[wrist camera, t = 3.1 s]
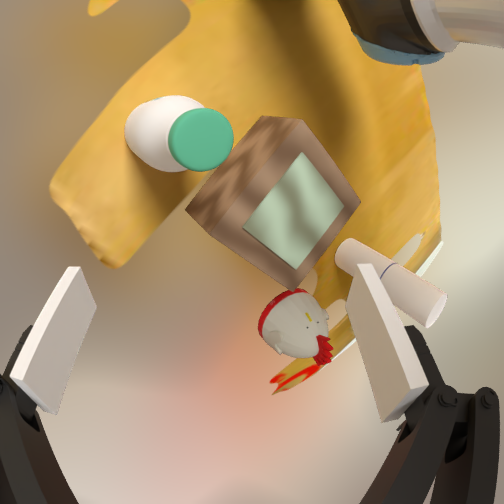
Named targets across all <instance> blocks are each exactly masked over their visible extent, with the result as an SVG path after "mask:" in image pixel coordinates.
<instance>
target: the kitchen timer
mask: <svg viewBox="0 0 504 504" xmlns="http://www.w3.org/2000/svg"><path fill="white" fill-rule="evenodd" d="M328 319H329V315H328V313H327V312H326V310H325V309H323V308H322V309H321V307H320V305H319V304H318V302H317V301H316V299H315V298H314V297H313V296H311V295H310V294H309V293H308V292H307V291H305V290H304V289H299V288H296V289H295V290H294V292H292V291H290V290H287V291H285V292H282V293H281V294H280V295H278V296H276V297H275V298H274V299H273V300H272V301H271V302H270V303H269V304H268V305H267V306H266V308H265V309H264V311H263V312H262V314H261V316H260V319H259V323H258V331H259V334H260V336H261V337H262V338H263V339H264V340H265V342H266V343H267V344H268V345H269V346H271V347H272V348H273V349H275V351H276V352H278V353H279V354H280V355H281V354H282V353H283V354H286V355H288V356H291V357H295V358H309V357H313V358H314V360H315V361H316V363H317V365H318V366H320V365H324V364H326V363H330V362H331V359H330V358H331V357H332V354H331V353H330V352H329V351H331V350H333V347H332V346H331V345H330V344H329V343H328V342H327V341H329V340H330V338H328V324H327V320H328Z"/></svg>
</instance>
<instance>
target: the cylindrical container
mask: <svg viewBox="0 0 504 504" xmlns="http://www.w3.org/2000/svg"><path fill="white" fill-rule="evenodd" d="M370 263H372V265H373V267H374V269H375V271H376V273H377V274H378V276H379V278H380V280H381V282H382V284H383V286H384V288H385V290H386V292H387V293H388V295H389V297H390V299H391V301H392V303H393V305H395V306H396V307H398V308H399V309H400V310H402V311H403V312H405V313H406V314H408V315H409V316H410V317H412V318H413V319H415V320H416V321H417V322H419V323H420V324H422V325H423V326H425V327H426V328H428V327H430V326H431V325H432V324H433V323H434V322H435V321H436V319H437V318H438V317H439V315H440V313H441V312H442V310H443V308H444V306H445V303H446V301H447V294H446V293H445V292H443V291H442V290H440V289H438V288H437V287H435V286H434V285H432V284H430V283H429V282H427V281H425V280H424V279H422V278H421V277H419V276H417V275H416V274H414V273H412V272H411V271H409V270H407V269H406V268H404V267H402V266H401V265H399V264H397V263H395V262H394V261H392V260H390V259H389V258H387V257H385V256H384V255H382V254H380V253H378V252H377V251H375V250H373V249H371V248H369V247H368V246H366V245H364V244H362V243H361V242H359V241H357V240H355V239H353V238H348V239H346V240H345V241H343V242H342V243H341V244H340V246H339V247H338V249H337V251H336V254H335V264H336V265H337V266H338V267H339V268H341V269H342V270H344V271H345V272H347V273H348V274H350V275H351V276H353V277H354V273H355V269H356V265H357V264H370Z"/></svg>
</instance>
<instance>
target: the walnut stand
mask: <svg viewBox="0 0 504 504" xmlns="http://www.w3.org/2000/svg"><path fill="white" fill-rule="evenodd" d="M360 203H361V201H360V199H359V198H358V196H357V195H356V193H355V192H354V190H353V189H352V187H351V186H350V184H349V183H348V181H347V180H346V178H345V177H344V175H343V174H342V172H341V171H340V170H339V168H338V167H337V165H336V164H335V162H334V161H333V160H332V158H331V157H330V155H329V154H328V153H327V151H326V150H325V149H324V147H323V146H322V144H321V143H320V142H319V140H318V139H317V138H316V136H315V135H314V134H313V133H312V131H311V130H310V129H309V127H308V126H307V125H306V123H305V122H304V121H303V120H302V119H294V118H283V117H271V116H261V118H260V119H259V120H258V121H257V122H256V123H255V124H254V125H253V127H252V128H251V129H250V130H249V131H248V132H247V133H246V135H245V136H244V137H243V138H242V139H241V140H240V142H239V143H238V144H237V145H236V146H235V148H234V149H233V150H232V151H231V152H230V154H229V156H228V157H227V159H226V160H225V161H224V162H223V163H222V164H221V165H220V166H219V167H218V168H217V170H216V171H215V172H214V173H213V174H212V175H211V177H210V178H209V179H208V180H207V182H206V183H205V184H204V186H203V187H202V188H201V190H200V191H199V192H198V193H197V194H196V196H195V197H194V198H193V200H192V201H191V202H190V204H189V205H188V206H187V208H186V209H185V210H186V211H187V213H188V214H189V215H190V216H191V217H192V218H193V219H194V220H195V221H197V223H198V224H199V225H200V226H201V227H203V228H204V230H205V231H206V232H208V234H209V235H211V236H212V237H214V238H215V239H216V240H218V241H219V242H221V243H222V244H224V245H225V246H227V247H228V248H230V249H231V250H232V251H234V252H235V253H237V254H238V255H240V256H241V257H242V258H244V259H245V260H247V261H249V262H250V263H251V264H253V265H254V266H256V267H257V268H259V269H260V270H261V271H263V272H264V273H266V274H267V275H269V276H270V277H272V278H273V279H274V280H276V281H277V282H279V283H280V284H282V285H283V286H285V287H286V288H287V289H289V290H290V291H292V292H294V290H295V289H296V288H297V286H298V285H299V284H300V283H301V282H302V280H303V279H304V278H305V277H306V275H307V274H308V273H309V271H310V270H311V269H312V268H313V266H314V265H315V264H316V262H317V261H318V260H319V258H320V257H321V256H322V254H323V253H324V252H325V251H326V249H327V248H328V247H329V245H330V244H331V243H332V241H333V240H334V239H335V237H336V236H337V235H338V233H339V232H340V230H341V229H342V228H343V226H344V225H345V224H346V222H347V221H348V220H349V218H350V217H351V215H352V214H353V213H354V211H355V210H356V208H357V207H358V206H359V204H360Z"/></svg>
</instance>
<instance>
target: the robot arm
mask: <svg viewBox="0 0 504 504" xmlns="http://www.w3.org/2000/svg"><path fill="white" fill-rule="evenodd" d="M338 2H339V4H340V6H341V8H342V10H343V12H344V14H345V16H346V18H347V20H348V23H349V25H350V27H351V31H352V32H353V35H354V36H355V37H356V38H357V40H358V42H359V44H360V46H361V48H362V50H363V51H364V52H365V53H366V54H367V55H368V56H369V57H371V58H372V59H374V60H377V61H379V62H383V63H388V64H394V65H412V64H419V65H424V64H430V63H434V62H437V61H439V60H440V59H442V58H443V57H444V54H445V52H452V51H453V50H454V49H455V48H456V47H457V45H458V44H459V43H460V42H465V43H473V44H481V45H487V46H493V47H498V48H504V0H338ZM345 308H346V311H347V314H348V316H349V319H350V322H351V325H352V328H353V331H354V334H355V337H356V340H357V343H358V346H359V349H360V352H361V355H362V358H363V361H364V364H365V368H366V371H367V374H368V377H369V380H370V384H371V387H372V391H373V394H374V398H375V401H376V404H377V408H378V412H379V415H380V419H381V422H382V423H383V422H388V421H392V420H396V419H399V418H400V417H401V415H402V414H403V413H405V416H406V420H405V421H404V422H403V423H402V424H401V425H400V426H399V427H398V428H397V431H399V430H400V429H401V430H400V432H399V434H398V436H397V438H396V441H395V442H394V445H393V446H392V448H391V451H390V452H389V455H388V456H387V458H386V460H385V462H384V463H383V465H382V467H381V469H380V471H379V473H378V474H377V476H376V478H375V480H374V481H373V483H372V485H371V486H370V488H369V489H368V491H367V493H366V494H365V496H364V497H363V499H362V500H361V502H360V504H423V502H424V500H425V498H426V496H427V494H428V492H429V490H430V487H431V485H432V483H433V481H434V478H435V476H436V479H435V484H434V488H433V493H432V497H431V501H430V504H493V503H494V497H495V490H496V483H497V473H498V462H499V443H500V414H499V399H498V396H497V394H496V392H495V391H493V390H492V389H491V388H488V387H482V388H481V389H479V390H478V391H477V392H476V393H475V394H464V393H457V391H456V390H455V389H454V388H452V387H451V386H448V385H446V384H445V383H444V381H443V379H442V377H441V374H440V372H439V370H438V368H437V365H436V363H435V361H434V359H433V356H432V354H430V350H429V348H428V346H427V345H426V342H425V340H424V338H423V336H422V334H421V333H420V331H419V330H417V329H416V328H415V326H414V325H412V326H405V327H404V326H403V324H402V322H401V320H400V318H399V316H398V314H397V311H396V309H395V308H394V305H393V303H392V301H391V299H390V297H389V295H388V293H387V292H386V290H385V288H384V286H383V284H382V282H381V280H380V278H379V276H378V274H377V273H376V271H375V269H374V267H373V265H372V263H370V264H357V265H356V269H355V273H354V277H353V280H352V284H351V287H350V291H349V295H348V298H347V301H346V305H345ZM96 309H97V306H96V304H95V302H94V299H93V297H92V295H91V292H90V290H89V287H88V285H87V282H86V280H85V278H84V275H83V272H82V270H81V267H68V268H67V270H66V271H65V273H64V274H63V276H62V278H61V279H60V281H59V282H58V284H57V286H56V287H55V289H54V291H53V292H52V294H51V296H50V297H49V299H48V301H47V303H46V304H45V306H44V308H43V310H42V311H41V313H40V315H39V317H38V319H37V321H36V322H35V324H34V326H32V325H30V326H29V327H28V328H27V329H26V330H25V332H23V334H22V336H21V338H20V340H19V343H18V344H17V346H16V348H15V351H14V352H13V354H12V356H11V358H10V360H9V362H8V364H7V367H6V369H5V371H4V374H3V375H1V374H0V504H79V503H78V502H77V500H76V498H75V496H74V494H73V493H72V491H71V489H70V487H69V486H68V483H67V481H66V479H65V477H64V475H63V473H62V471H61V469H60V467H59V464H58V462H57V460H56V458H55V455H54V453H53V451H52V448H51V446H50V443H49V441H48V439H47V436H46V433H45V431H44V428H43V425H42V422H41V419H40V417H39V414H38V412H37V411H36V407H37V405H38V406H39V407H40V408H41V409H42V410H43V411H45V412H48V413H51V414H55V415H57V413H58V410H59V407H60V404H61V400H62V397H63V394H64V391H65V388H66V385H67V382H68V379H69V377H70V374H71V371H72V368H73V365H74V362H75V360H76V357H77V355H78V352H79V349H80V347H81V344H82V342H83V339H84V337H85V334H86V332H87V330H88V327H89V325H90V322H91V320H92V318H93V315H94V313H95V311H96Z"/></svg>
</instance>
